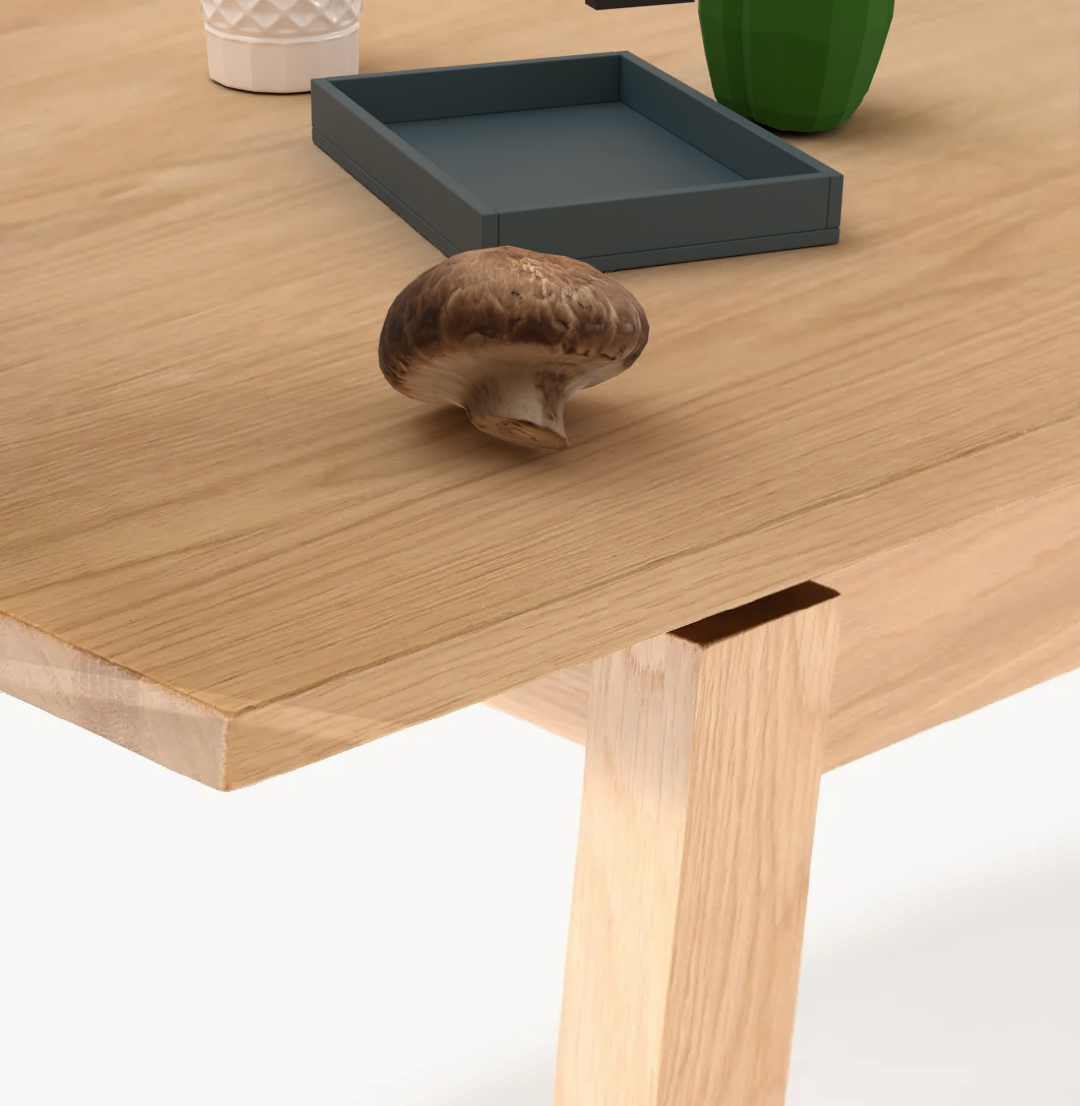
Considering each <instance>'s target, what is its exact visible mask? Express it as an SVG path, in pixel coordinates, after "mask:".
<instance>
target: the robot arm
mask: <svg viewBox="0 0 1080 1106" xmlns="http://www.w3.org/2000/svg"><path fill="white" fill-rule="evenodd" d="M695 2H696V0H584V4H585V5H587V6H588V7H590V8H592V9H593V10H595V11H606V10H617V9H629V8H630V9H631V8H643V7H654V6H666V5H667V6H668V5H678V4H691V3H695Z"/></svg>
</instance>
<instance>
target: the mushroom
mask: <svg viewBox="0 0 1080 1106" xmlns="http://www.w3.org/2000/svg"><path fill="white" fill-rule="evenodd" d="M649 335H650V324H649V321H648V318H647V314H646V312H645V309H644V307H643V306H642V305H641V303H640V302H639V301H638V299H637V298H636V296H635V295H634V294H633V293H632V292H631V291H630V290H628V288H626V286H624V285H623V284H622V283H621V282H619V281H617V280H616V279H614V278H612V277H610V276H608V275H607V274H605V273H604V272H600V271H599V270H597V269H596V268H594V267H593V266H591V265H589V264H588V263H585V262H581V261H578V260H575V259H572V258H569V257H565V256H560V255H552V254H544V253H539V252H535V251H530V250H526V249H522V248H517V247H513V246H502V247H494V248H486V249H478V250H471V251H466V252H463V253H460V254H457V255H454V256H452V257H450V258H449V257H447V258H446V259H445V260H443V261H441V262H439V263H438V264H435V265H434V266H431V268H428V269H427V270H425V271H423V272H422V273H420V274H419V275H418V276H417V277H416V278H414V279H413V280H412V281H411V282H410V283H408V284H407V285H406V286H405V287H404V288H403V289H402V290H401V291H400V292H399V293H398V294H397V295H396V296H395V298H394V300H393V302H392V303H391V305H390V306H389V308H388V310H387V312H386V316H385V318H384V321H383V324H382V328H381V330H380V333H379V341H378V346H377V347H378V348H377V355H378V366H379V368H380V371H381V373H382V375H383V377H384V379H385V380H386V381H387V382H388V384H389V385H390V386H391V388H392V389H393V390H395V391H396V392H398V393H400V394H402V395H404V396H405V397H407V398H409V399H411V400H415V401H419V402H422V403H430V404H441V405H442V404H445V405H454V406H457V407H459V408H462V409H464V410H465V412H466V414H467V416H468V419H469V421H470V422H471V424H472V425H473V426H474V427H475V428H477V430H479V431H480V432H482V433H485V434H487V435H489V436H491V437H494V438H497V439H499V440H501V441H505V442H507V443H511V444H514V445H518V446H522V447H527V448H530V449H531V448H532V449H537V450H557V451H562V450H564V449H567V448H569V447H570V442H569V440H568V437H567V434H566V433H567V432H566V431H565V422H564V414H565V410H566V406H567V404H568V402H569V401H570V400H571V399H572V397H573V396H574V395H576V394H577V393H579V391H583V390H586V389H590V388H593V387H596V386H599V385H600V384H602V383H604V382H606V381H609V380H611V379H612V378H615V377H616V376H619V375H620V374H622V373H624V372H626V371H627V370H629V369H631V367H632V366H633V365H634V363H636V361H637V360H638V359H639V358H640V357H641V354H642V353H643V351H644V349H645V348H646V346H647V345H648V342H649Z"/></svg>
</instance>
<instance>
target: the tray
mask: <svg viewBox="0 0 1080 1106" xmlns="http://www.w3.org/2000/svg"><path fill="white" fill-rule="evenodd" d="M310 83H311V91H310V116H311V117H310V118H311V141H312V142H313V143H314V144H315V145H316V146H317V147H319V148H320V149H321V150H322V151H323V152H324V153H325V154H327V155H328V156H329V157H330V158H331V159H333V160H334V161H335V162H336V163H337V164H339V166H340V167H342V168H343V169H344V170H345V171H346V172H348V173H349V174H350V175H351V176H352V177H354V178H355V179H356V180H357V181H359V182H360V183H361V184H362V185H363V186H364V187H366V188H367V189H368V190H369V191H370V192H371V193H372V194H373V195H375V196H376V197H377V198H378V199H380V200H381V201H382V202H383V203H384V204H385V205H386V206H388V207H389V208H390V209H391V210H393V212H395V213H396V214H397V215H398V216H399V217H401V218H402V219H403V220H404V222H406V223H408V224H409V226H411V227H412V228H414V229H415V230H416V231H417V232H418V233H419V234H421V236H423V237H424V238H425V239H427V240H428V242H430V243H431V244H432V245H433V246H435V247H436V248H437V249H438V250H439V251H441V253H443V254H444V255H445V256H446V257H447V258H450V257H452V256H454V255H457V254H460V253H463V252H466V251H471V250H478V249H486V248H494V247H502V246H513V247H517V248H522V249H526V250H530V251H535V252H539V253H544V254H552V255H560V256H565V257H569V258H572V259H575V260H578V261H581V262H585V263H588V264H589V265H591V266H593V267H594V268H596V269H597V270H599V271H600V272H602V273H605V272H611V271H619V270H626V269H627V270H628V269H635V268H636V269H637V268H643V267H651V266H652V267H653V266H661V265H669V264H677V263H684V262H685V263H686V262H692V261H701V260H708V259H709V260H710V259H717V258H725V257H733V256H741V255H743V256H744V255H750V254H759V253H767V252H775V251H785V250H791V249H799V248H807V247H816V246H823V245H824V246H825V245H832V244H838V243H839V242H840V235H841V234H840V233H841V229H840V227H841V221H842V220H841V219H842V208H843V207H842V205H843V194H844V182H845V181H844V180H845V176H844V175H845V174H843V173H842V172H840V171H838V170H836V169H835V168H833V167H831V166H829V165H827V164H826V163H824V162H822V161H821V160H819V159H817V158H816V157H813V156H812V155H810V154H808V153H806V152H805V151H803V150H801V149H800V148H798V147H796V146H794V145H793V144H791V143H789V142H787V141H786V140H784V139H782V138H781V137H779V136H777V135H776V134H774V133H772V132H770V131H768V130H767V129H765V128H763V127H762V126H759V125H758V124H756V123H755V122H754V121H749V120H747V119H746V118H744V117H742V116H741V115H739V114H737V113H735V112H734V111H732V110H730V109H728V108H727V107H725V106H723V105H721V104H720V103H718V102H717V100H715V99H713V98H711V97H709V96H708V95H706V94H704V93H703V92H701V91H699V90H697V89H695V88H694V87H692V86H691V85H689V84H687V83H685V82H683V81H682V80H680V79H678V78H676V77H674V76H673V75H671V74H669V73H668V72H665V71H664V70H663V69H660V68H659V67H657V66H655V65H654V64H652V63H650V62H648V61H647V60H645V59H643V58H642V57H639V56H638V55H636V54H634V53H633V52H631V51H629V50H618V51H617V50H616V51H604V52H594V53H593V52H592V53H583V54H581V53H580V54H572V55H571V54H570V55H561V56H550V57H549V56H548V57H538V58H527V59H525V58H524V59H516V60H504V61H493V62H483V63H469V64H459V65H450V66H447V65H446V66H438V67H437V66H436V67H427V68H426V67H425V68H416V69H404V70H403V69H402V70H393V71H381V72H370V73H359V74H358V75H347V76H336V77H325V78H315V79H311V80H310Z"/></svg>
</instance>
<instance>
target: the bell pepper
mask: <svg viewBox="0 0 1080 1106" xmlns="http://www.w3.org/2000/svg"><path fill="white" fill-rule="evenodd" d="M697 2H698V4H697V5H698V6H697V14H698V21H699V25H700V26H699V27H700V33H701V39H702V45H703V46H702V47H703V51H704V56H705V61H706V65H707V66H706V67H707V70H708V75H709V79H710V84H711V89H712V92H713V95H714V98H715V101H716V102H718V103H720V104H721V105H723V106H725V107H727V108H728V109H730V110H732V111H734V112H735V113H737V114H739V115H741V116H742V117H744V118H746V119H747V120H749V121H751V122H754V123H759V124H762V125H765V126H767V127H770V128H773V129H775V130H779V131H789V132H807V133H814V132H822V131H830V130H831V131H832V130H836V129H838V128H839V127H840V126H842V125H843V124H844V123H846V122H847V121H848V120H849V119H851V118H852V116H853V115H854V113H855V112H856V110H857V109H858V108H859V107H860V106H861V104H862V103H863V100H864V98H865V96H866V95H867V93H868V92H869V91H870V87H871V85H872V84H871V83H872V82H873V79H874V76H875V73H876V71H877V68H878V65H879V63H880V60H881V57H882V55H883V54H882V53H883V50H884V47H885V44H886V41H887V37H888V34H889V32H890V28H891V24H892V21H893V19H894V12H895V2H896V0H698V1H697Z"/></svg>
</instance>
